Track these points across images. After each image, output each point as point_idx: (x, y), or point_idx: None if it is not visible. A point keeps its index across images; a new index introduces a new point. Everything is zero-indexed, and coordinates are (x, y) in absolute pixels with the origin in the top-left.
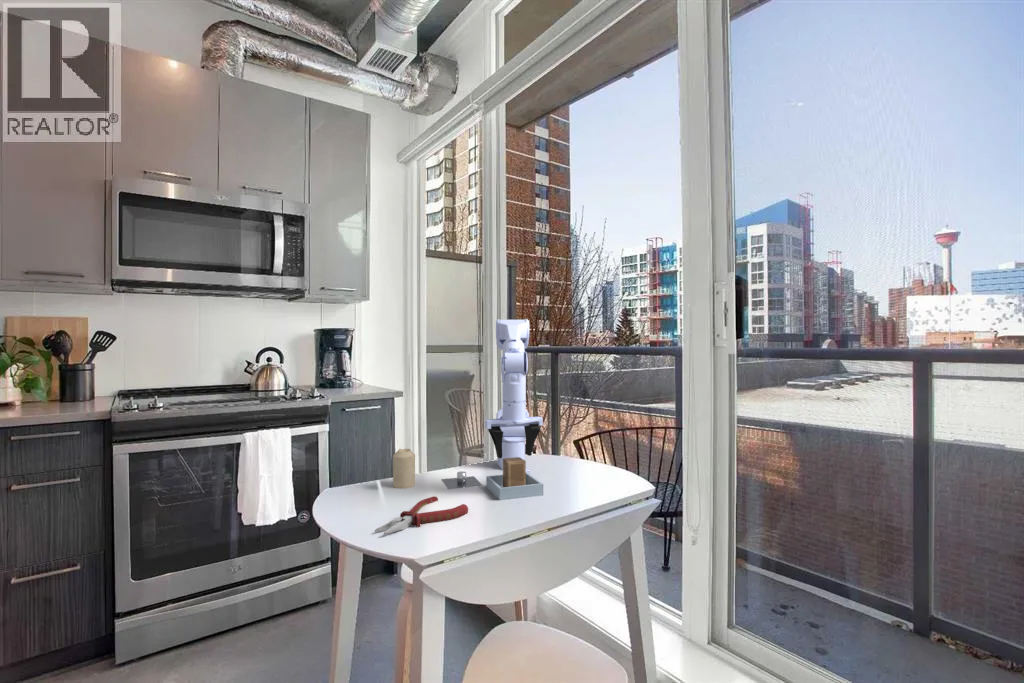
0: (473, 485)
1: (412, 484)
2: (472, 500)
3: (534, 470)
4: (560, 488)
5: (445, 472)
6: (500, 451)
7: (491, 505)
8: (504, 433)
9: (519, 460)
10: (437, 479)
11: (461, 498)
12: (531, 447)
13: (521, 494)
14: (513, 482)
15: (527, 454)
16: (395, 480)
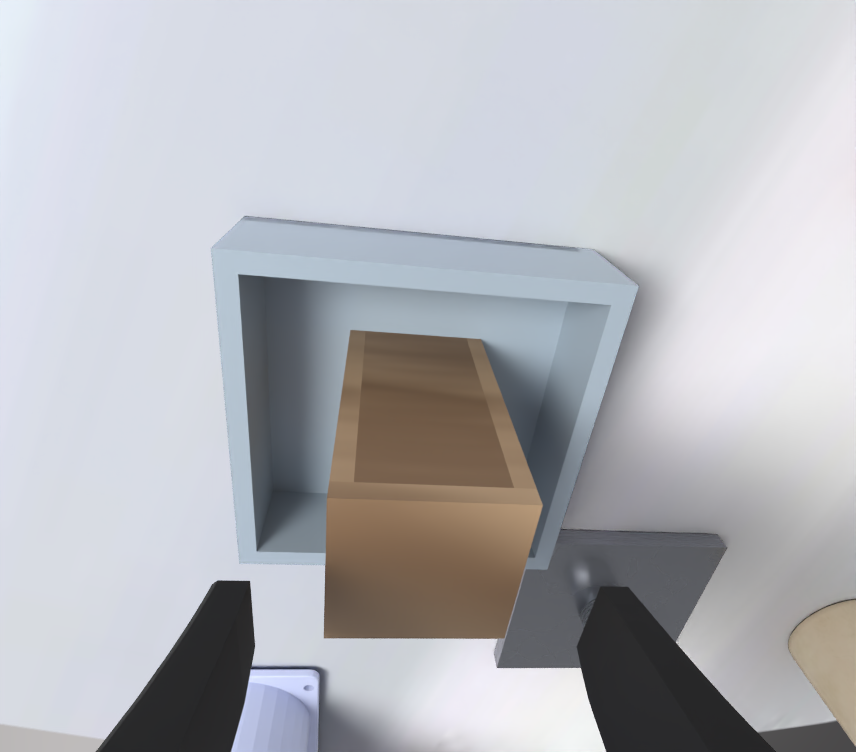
0: (580, 556)
1: (844, 629)
2: (696, 377)
3: (121, 686)
4: (34, 375)
5: (559, 743)
6: (667, 654)
7: (659, 241)
8: None
9: (384, 539)
10: None
11: (724, 429)
12: (179, 677)
13: (433, 248)
14: (454, 383)
15: (251, 617)
16: None
